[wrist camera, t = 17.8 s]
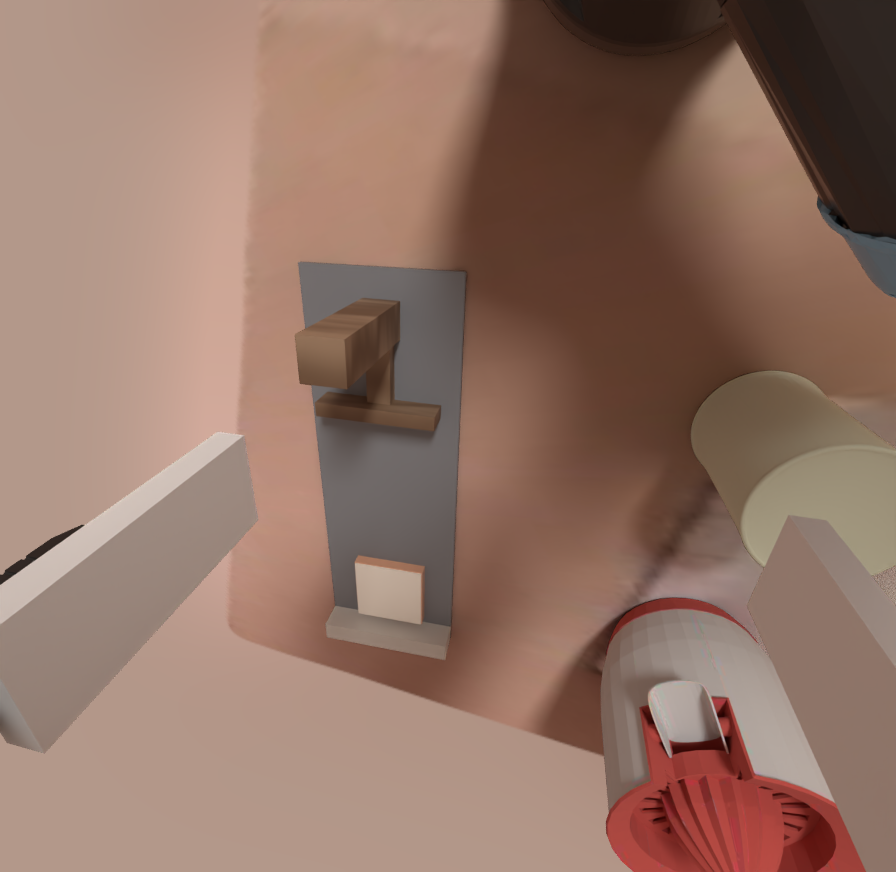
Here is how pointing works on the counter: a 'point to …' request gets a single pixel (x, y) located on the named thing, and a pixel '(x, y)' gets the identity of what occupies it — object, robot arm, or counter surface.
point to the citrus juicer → (709, 752)
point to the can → (797, 465)
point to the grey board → (394, 452)
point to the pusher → (360, 366)
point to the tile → (390, 589)
